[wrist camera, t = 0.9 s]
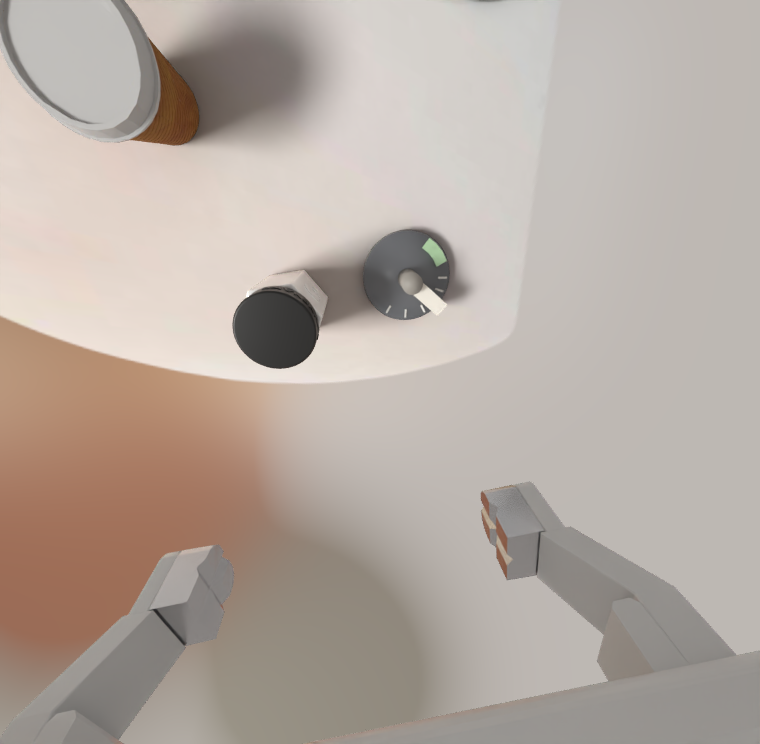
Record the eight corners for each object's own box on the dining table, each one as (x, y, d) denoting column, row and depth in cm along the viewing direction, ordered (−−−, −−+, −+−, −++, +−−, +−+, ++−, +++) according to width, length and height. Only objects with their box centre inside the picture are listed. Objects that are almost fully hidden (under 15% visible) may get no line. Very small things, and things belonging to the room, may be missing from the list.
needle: (393, 279, 39) (398, 285, 36) (406, 264, 38) (412, 269, 35) (430, 311, 41) (437, 320, 38) (442, 297, 41) (451, 305, 37)
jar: (340, 308, 42) (337, 340, 31) (297, 344, 44) (279, 386, 33) (292, 254, 38) (270, 268, 28) (247, 295, 40) (209, 323, 29)
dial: (391, 211, 37) (392, 211, 36) (463, 259, 40) (466, 260, 39) (348, 292, 41) (348, 295, 40) (417, 330, 44) (419, 334, 43)
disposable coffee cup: (216, 174, 34) (154, 154, 23) (119, 149, 32) (5, 116, 22) (216, 61, 30) (140, -26, 19) (105, 27, 28) (-44, -88, 18)
